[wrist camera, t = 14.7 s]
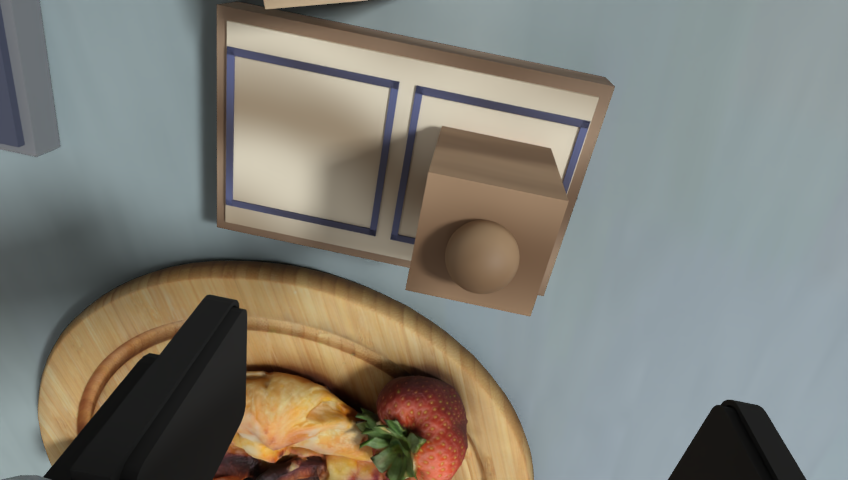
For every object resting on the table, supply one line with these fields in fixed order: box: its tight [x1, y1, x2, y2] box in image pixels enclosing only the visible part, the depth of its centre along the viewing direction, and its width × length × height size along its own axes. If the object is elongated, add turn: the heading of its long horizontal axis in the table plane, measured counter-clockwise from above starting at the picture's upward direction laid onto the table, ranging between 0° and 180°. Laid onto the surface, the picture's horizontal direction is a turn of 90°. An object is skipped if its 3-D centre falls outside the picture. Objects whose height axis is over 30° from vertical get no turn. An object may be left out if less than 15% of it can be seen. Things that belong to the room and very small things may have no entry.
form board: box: [217, 2, 615, 296], centre depth 24 cm, size 10×16×2 cm, turn 80°
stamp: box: [405, 126, 569, 316], centre depth 20 cm, size 4×4×8 cm
